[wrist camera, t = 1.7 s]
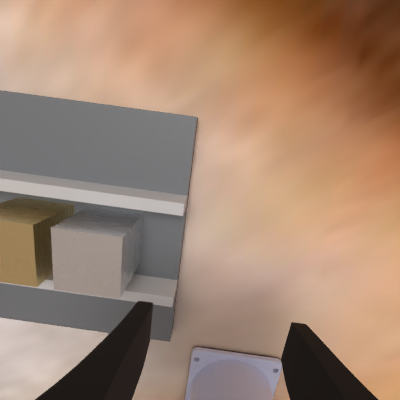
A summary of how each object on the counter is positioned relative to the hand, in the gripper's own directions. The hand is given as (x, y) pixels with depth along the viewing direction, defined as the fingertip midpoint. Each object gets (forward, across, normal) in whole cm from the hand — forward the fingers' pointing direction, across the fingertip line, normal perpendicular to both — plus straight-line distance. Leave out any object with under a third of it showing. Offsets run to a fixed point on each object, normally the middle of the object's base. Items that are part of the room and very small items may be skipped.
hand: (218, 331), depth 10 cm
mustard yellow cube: (+7, +12, 0) cm, 15 cm away
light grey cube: (+7, +8, 0) cm, 11 cm away
